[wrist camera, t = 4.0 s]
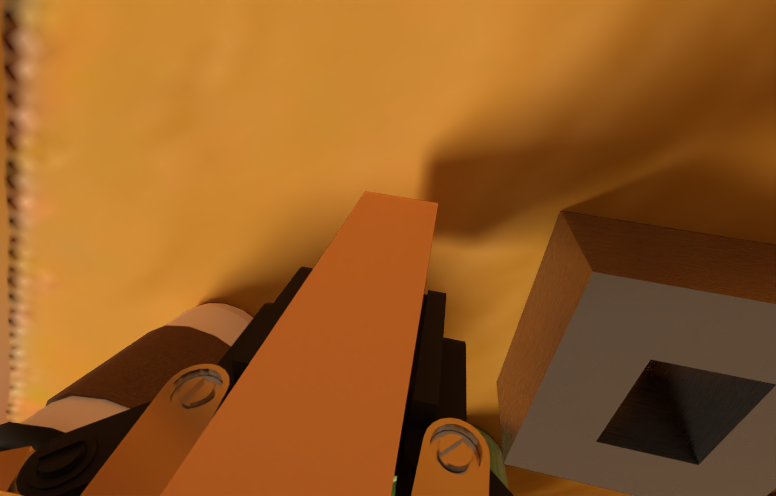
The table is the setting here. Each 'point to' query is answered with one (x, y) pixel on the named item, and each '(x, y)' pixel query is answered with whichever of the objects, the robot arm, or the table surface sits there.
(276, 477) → the orange square peg
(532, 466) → the grey square frame
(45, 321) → the table surface
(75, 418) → the coffee cup
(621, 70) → the table surface
